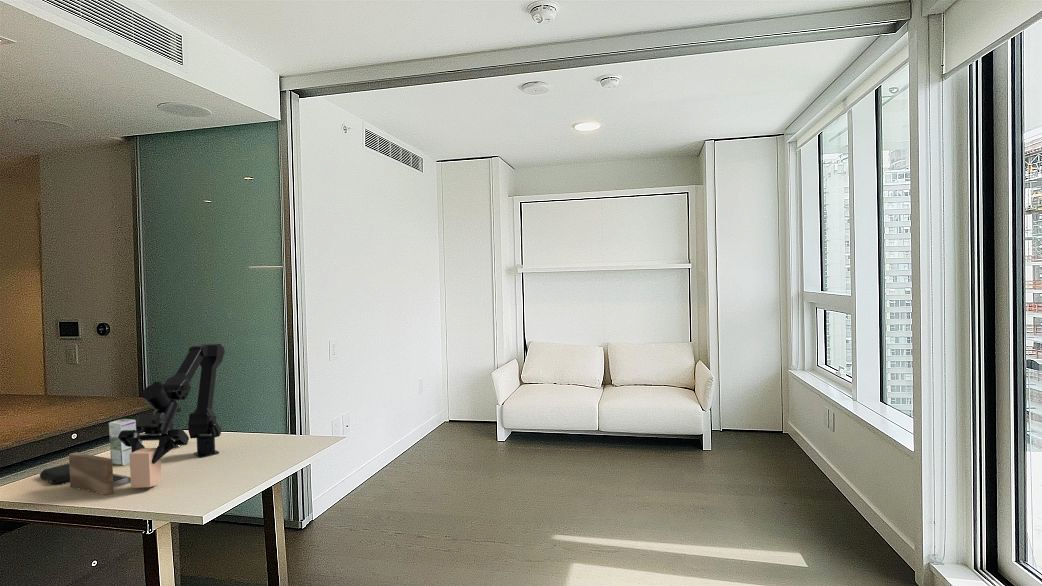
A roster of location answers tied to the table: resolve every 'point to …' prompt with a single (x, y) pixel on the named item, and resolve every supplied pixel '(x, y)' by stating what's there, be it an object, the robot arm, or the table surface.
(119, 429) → the syrup box
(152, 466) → the pinkish tan block
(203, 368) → the robot arm
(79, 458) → the cleat board
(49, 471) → the carrying case or bag
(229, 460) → the table surface
